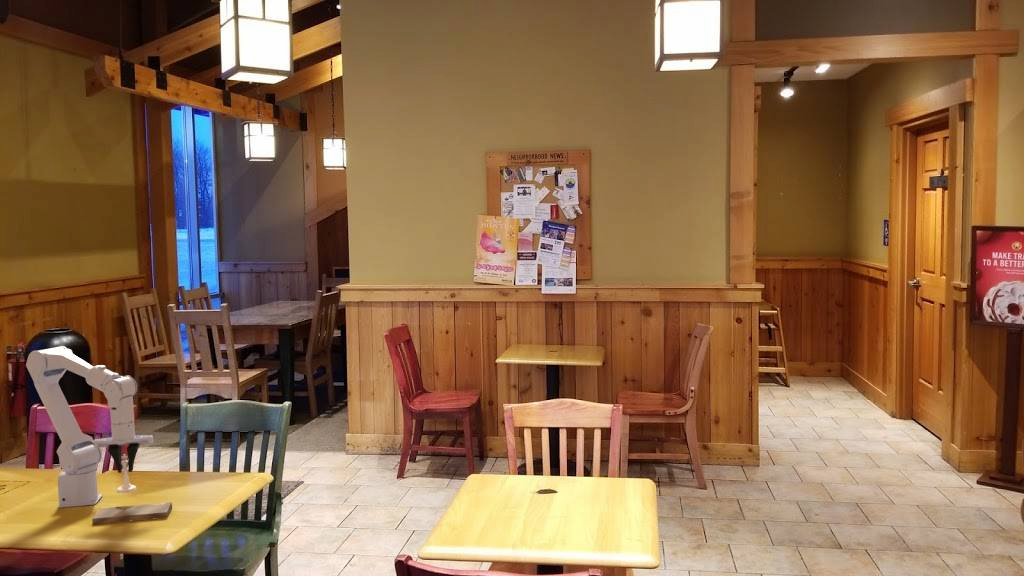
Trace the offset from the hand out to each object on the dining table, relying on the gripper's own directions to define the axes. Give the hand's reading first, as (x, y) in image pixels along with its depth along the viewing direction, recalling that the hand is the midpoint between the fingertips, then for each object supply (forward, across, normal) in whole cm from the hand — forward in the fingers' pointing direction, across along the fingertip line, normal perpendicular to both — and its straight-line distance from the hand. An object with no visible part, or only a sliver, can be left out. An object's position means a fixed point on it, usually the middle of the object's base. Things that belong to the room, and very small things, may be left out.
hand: (125, 471), depth 234 cm
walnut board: (+10, +3, -8) cm, 13 cm away
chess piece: (+6, 0, 0) cm, 6 cm away
